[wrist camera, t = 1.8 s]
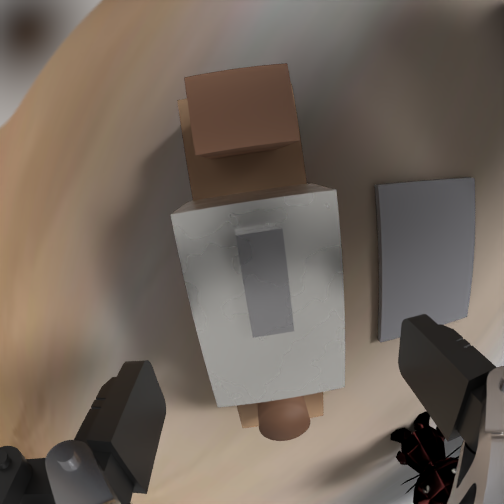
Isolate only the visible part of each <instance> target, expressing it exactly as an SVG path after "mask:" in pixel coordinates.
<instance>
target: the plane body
mask: <svg viewBox="0 0 504 504" xmlns="http://www.w3.org/2000/svg"><path fill="white" fill-rule="evenodd" d="M184 79H185V86H186V94H187V99H182V100H177V101H178V108H179V115H180V122H181V129H182V136H183V143H184V149H185V156H186V162H187V168H188V174H189V180H190V186H191V192H192V198H193V201H195V200H201V199H207V198H213V197H219V196H225V195H231V194H238V193H244V192H251V191H257V190H264V189H271V188H279V187H286V186H294V185H301V184H307V182H306V174H305V166H304V159H303V152H302V145H301V138H300V131H299V125H298V118H297V112H296V106H295V100H294V94H293V88H292V84H291V82H290V77H289V71H288V66H287V63H285V64H273V65H263V66H254V67H245V68H238V69H230V70H224V71H217V72H211V73H206V74H200V75H195V76H190V77H185V78H184ZM237 408H238V412H239V416H240V420H241V424H242V427H243V428H248V427H257V426H259V430H260V432H261V434H262V435H263V436H265V437H266V438H268V439H271V440H276V441H285V440H291V439H294V438H296V437H298V436H300V435H302V434H303V433H304V432H305V431H306V430H307V429H308V427H309V425H310V418H313V417H318V416H323V392H319V393H314V394H309V395H304V396H298V397H293V398H287V399H281V400H274V401H267V402H260V403H253V404H245V405H237Z"/></svg>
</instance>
